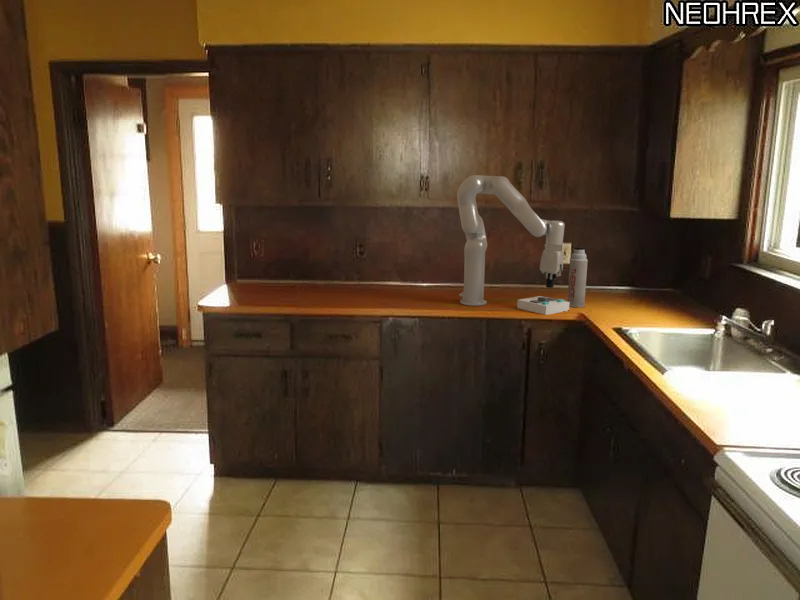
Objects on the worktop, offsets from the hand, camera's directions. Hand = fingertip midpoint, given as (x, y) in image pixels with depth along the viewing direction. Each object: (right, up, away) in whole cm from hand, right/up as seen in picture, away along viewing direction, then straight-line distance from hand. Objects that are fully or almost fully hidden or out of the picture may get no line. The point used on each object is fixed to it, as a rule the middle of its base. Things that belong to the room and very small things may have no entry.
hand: (549, 287), depth 305 cm
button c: (+1, -9, +1) cm, 9 cm away
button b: (-3, -8, -2) cm, 9 cm away
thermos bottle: (+14, -9, +7) cm, 18 cm away
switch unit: (-3, -10, -1) cm, 11 cm away
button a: (-8, -10, -5) cm, 13 cm away
